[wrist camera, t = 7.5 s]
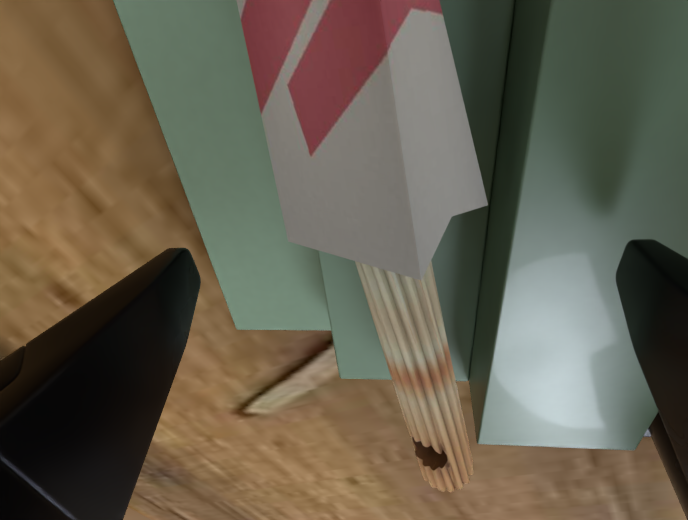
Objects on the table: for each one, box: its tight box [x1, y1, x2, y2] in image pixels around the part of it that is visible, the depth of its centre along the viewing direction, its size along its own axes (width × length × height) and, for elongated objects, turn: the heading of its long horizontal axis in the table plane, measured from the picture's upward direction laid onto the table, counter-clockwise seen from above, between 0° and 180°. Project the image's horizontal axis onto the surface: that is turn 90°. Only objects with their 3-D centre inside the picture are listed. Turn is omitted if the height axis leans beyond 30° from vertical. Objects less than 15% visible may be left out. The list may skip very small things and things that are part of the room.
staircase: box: [113, 0, 688, 450], centre depth 13 cm, size 18×15×7 cm
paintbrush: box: [237, 0, 488, 492], centre depth 11 cm, size 4×3×20 cm
